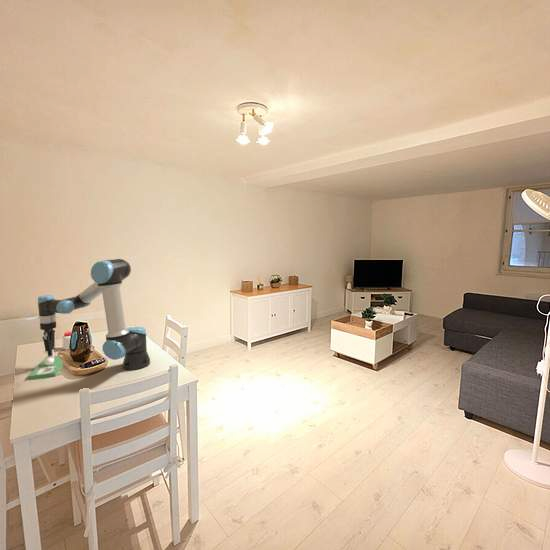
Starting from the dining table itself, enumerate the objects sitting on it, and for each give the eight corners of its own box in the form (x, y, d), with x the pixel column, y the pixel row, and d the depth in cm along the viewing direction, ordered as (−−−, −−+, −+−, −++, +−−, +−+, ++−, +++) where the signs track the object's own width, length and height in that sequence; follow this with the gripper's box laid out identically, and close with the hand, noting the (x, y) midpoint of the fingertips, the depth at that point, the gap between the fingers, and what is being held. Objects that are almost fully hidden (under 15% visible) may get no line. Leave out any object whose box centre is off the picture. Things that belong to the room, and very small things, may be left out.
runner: (69, 357, 192) (69, 354, 192) (55, 376, 166) (54, 372, 166) (46, 359, 188) (46, 356, 188) (28, 379, 162) (28, 376, 162)
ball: (52, 360, 173) (53, 366, 175) (54, 355, 177) (55, 361, 179) (42, 361, 172) (44, 367, 174) (45, 356, 175) (46, 362, 177)
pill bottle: (78, 348, 207) (76, 332, 206) (64, 351, 202) (63, 335, 200) (75, 345, 213) (73, 330, 211) (61, 348, 207) (60, 332, 206)
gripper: (44, 319, 180) (47, 357, 183) (35, 325, 168) (39, 365, 171) (59, 318, 182) (62, 355, 185) (51, 324, 170) (55, 364, 173)
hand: (51, 360), depth 178 cm, fingers closed
